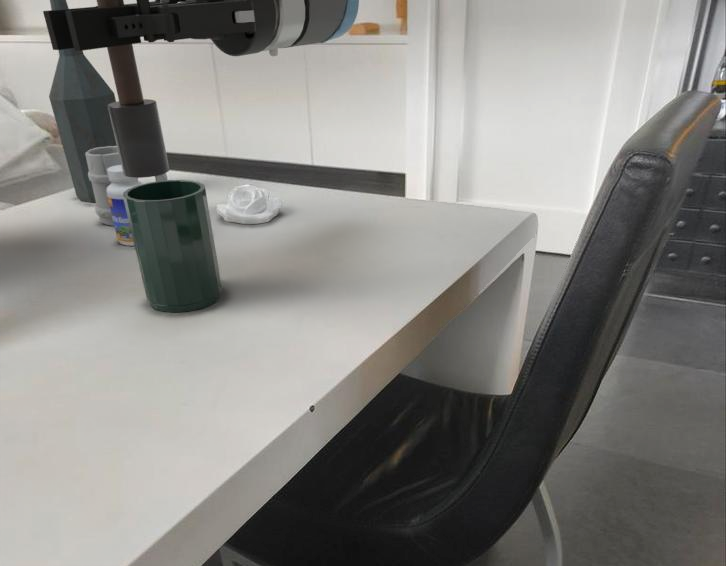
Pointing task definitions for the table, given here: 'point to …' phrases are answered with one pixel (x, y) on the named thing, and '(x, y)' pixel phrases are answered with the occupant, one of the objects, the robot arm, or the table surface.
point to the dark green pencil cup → (174, 244)
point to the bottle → (80, 112)
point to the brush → (134, 115)
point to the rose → (249, 205)
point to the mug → (104, 178)
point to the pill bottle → (120, 202)
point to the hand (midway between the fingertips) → (62, 30)
